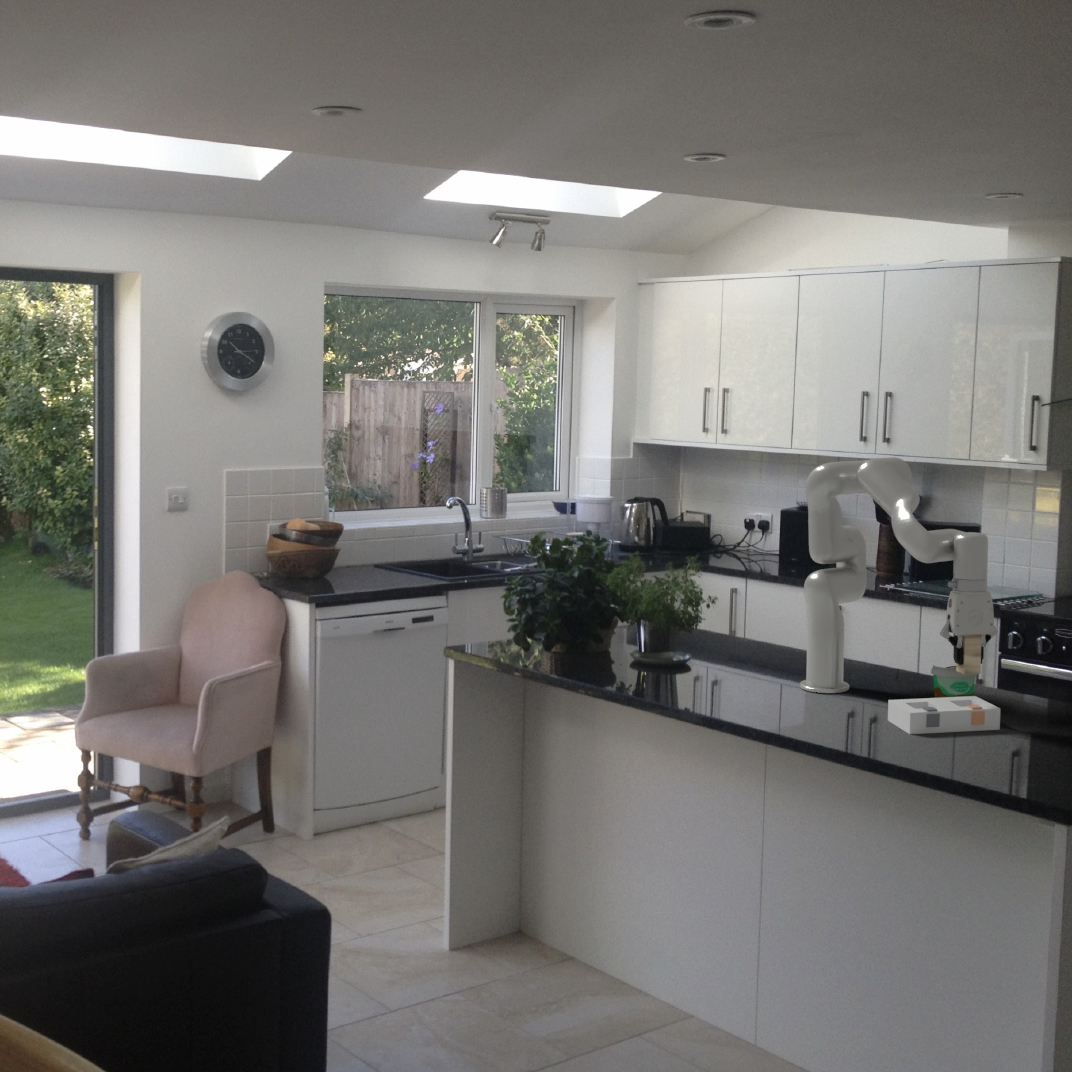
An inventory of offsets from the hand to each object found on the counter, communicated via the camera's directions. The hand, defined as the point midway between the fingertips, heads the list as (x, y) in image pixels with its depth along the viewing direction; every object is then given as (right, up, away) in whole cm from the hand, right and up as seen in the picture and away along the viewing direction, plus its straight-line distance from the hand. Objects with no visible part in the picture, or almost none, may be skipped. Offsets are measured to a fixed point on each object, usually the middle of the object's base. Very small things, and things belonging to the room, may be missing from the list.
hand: (968, 662), depth 298 cm
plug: (0, -2, 0) cm, 2 cm away
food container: (+4, -13, +19) cm, 23 cm away
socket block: (-6, -15, +1) cm, 16 cm away
